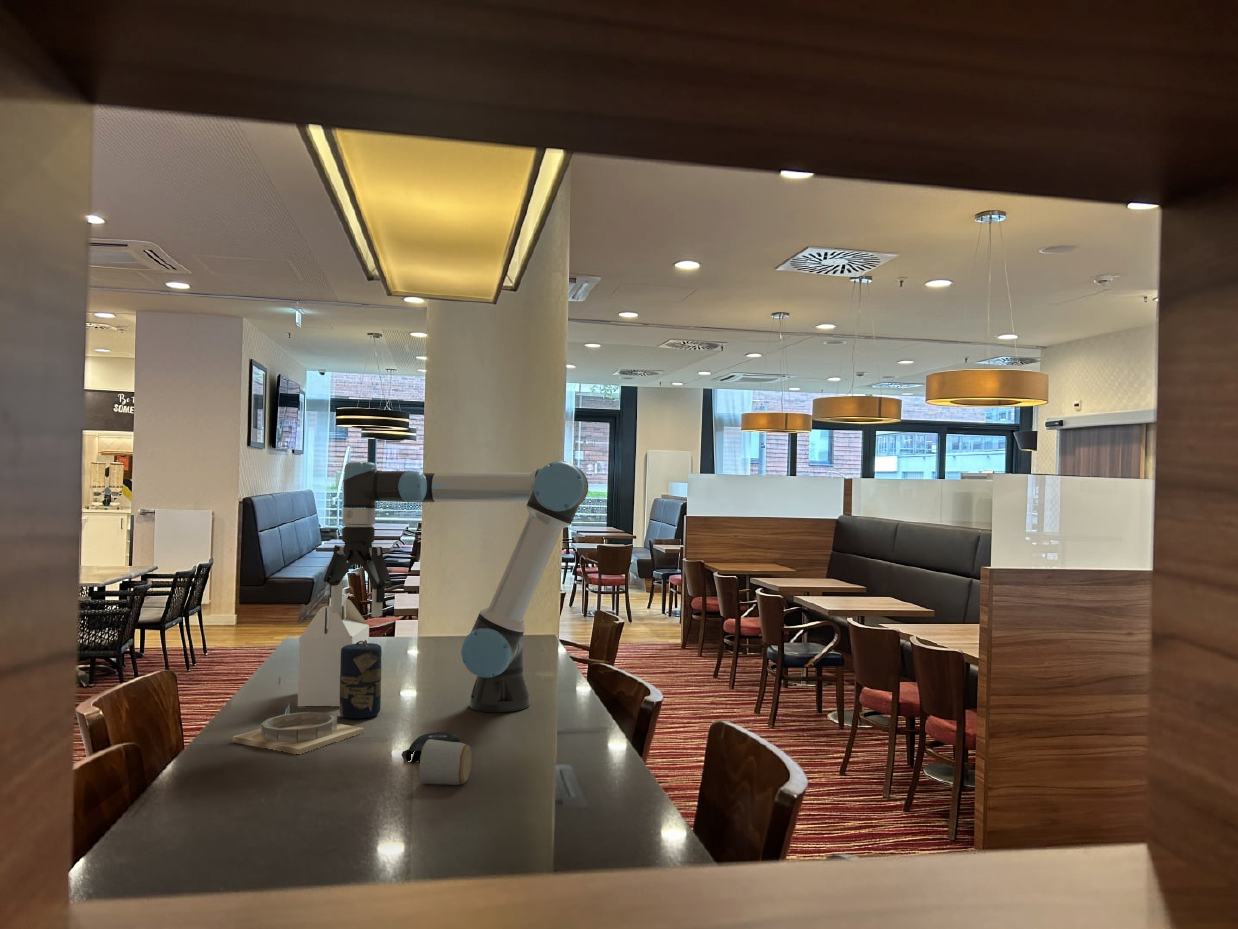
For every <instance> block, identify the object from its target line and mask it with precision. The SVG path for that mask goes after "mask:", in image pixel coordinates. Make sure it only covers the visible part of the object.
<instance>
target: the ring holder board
mask: <svg viewBox="0 0 1238 929" xmlns="http://www.w3.org/2000/svg"><path fill="white" fill-rule="evenodd" d="M260 724H261V727H260V728H257V729H255V730H251V731H248V732H244V733H240V734H237V735H233V736H232V743H234V742H235V744H238V745H239V744H241V745H245V746H251V747H257V748H262V749H265V748H268V749H267V750H270V749H273V750H272V751H276V750H277V751H276V752H281V751H283V752H282V753H286V752H287V754H291V753H292V754H291V755H296V754H300V755H303V754H306V753H309V752H312V751H314V750H313V749H315V748H318V749H321V748H323V747H322V746H324V747H326V746H325V745H327V744H330V743H333V742H336V743H339V742H342V741H345V740H347V739H346V738H348V739H350V738H349V737H351V736H354V737H357V736H360V735H362V733H363V734H364V732H365V727H360V726H354V725H348V724H342V723H338V717H337V716H336V715H334V713H333V714H332V713H328V712H322V711H302V712H293V713H284V714H281V715H280V714H279V715H277V716H273V717H270V718H269V717H268V718H267V719H265V720H264V721H263V722H261V723H260ZM359 734H360V735H359ZM356 735H357V736H356ZM351 738H352V737H351ZM344 739H345V740H344ZM341 740H342V741H341ZM333 744H334V743H333ZM330 745H331V744H330ZM327 746H328V745H327ZM320 747H321V748H320ZM311 750H312V751H311ZM315 750H316V749H315ZM308 751H309V752H308ZM305 752H306V753H305ZM302 753H303V754H302Z"/></svg>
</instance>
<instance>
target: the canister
mask: <svg viewBox="0 0 1238 929" xmlns="http://www.w3.org/2000/svg"><path fill="white" fill-rule="evenodd" d="M360 642H362V643H360ZM382 654H383V653H382V647H381V645H380V644H378V643H373V642H372V643H371V642H369V643H364V642H363V641H359V642H357V643H356V644H350V645H346V646H344V647H342V649H341V668H340V706H339V714H340V716H341V717H343V718H346V719H366V718H370V717H374V716H376V715H379V713H380V711H381V707H382V706H381V702H382V700H381V696H382V694H381V692H382V691H381V690H382Z"/></svg>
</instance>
